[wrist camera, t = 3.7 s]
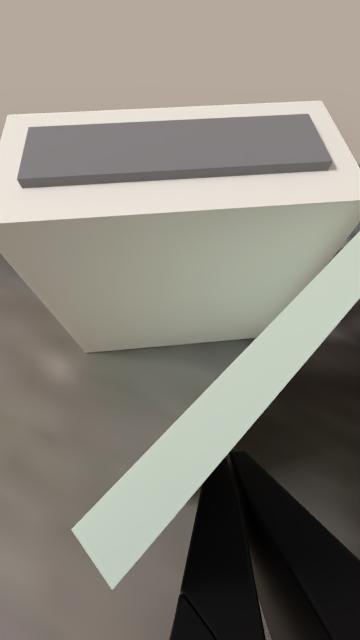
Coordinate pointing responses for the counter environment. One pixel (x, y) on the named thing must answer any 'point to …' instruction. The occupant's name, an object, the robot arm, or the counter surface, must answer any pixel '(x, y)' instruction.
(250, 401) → the door
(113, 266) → the box
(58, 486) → the counter surface
